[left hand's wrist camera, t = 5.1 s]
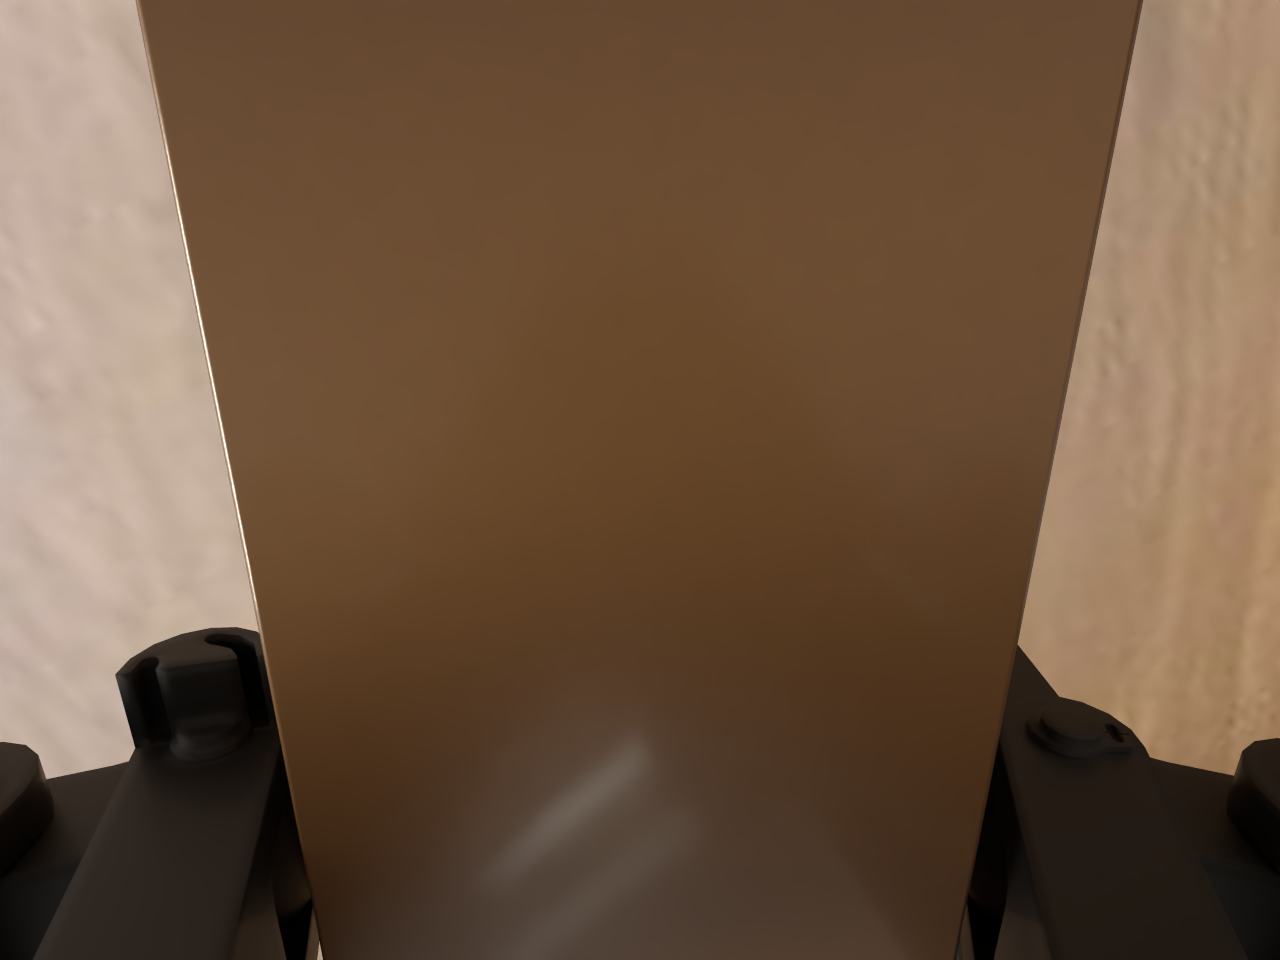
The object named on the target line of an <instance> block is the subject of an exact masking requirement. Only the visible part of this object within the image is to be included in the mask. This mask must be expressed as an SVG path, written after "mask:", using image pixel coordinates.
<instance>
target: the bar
mask: <svg viewBox="0 0 1280 960" xmlns="http://www.w3.org/2000/svg"><path fill="white" fill-rule="evenodd" d="M1142 3H1143V0H136V5H137V10H138V15H139V20H140V25H141V30H142V36H143V41H144V46H145V51H146V56H147V61H148V66H149V71H150V76H151V82H152V87H153V92H154V97H155V102H156V107H157V112H158V117H159V122H160V128H161V133H162V138H163V143H164V148H165V153H166V158H167V163H168V168H169V174H170V179H171V184H172V189H173V194H174V199H175V204H176V209H177V215H178V220H179V225H180V230H181V235H182V240H183V245H184V250H185V255H186V261H187V266H188V271H189V276H190V281H191V286H192V291H193V296H194V301H195V307H196V312H197V317H198V322H199V327H200V332H201V337H202V342H203V347H204V353H205V358H206V363H207V368H208V373H209V378H210V383H211V388H212V394H213V399H214V404H215V409H216V414H217V419H218V424H219V429H220V434H221V440H222V445H223V450H224V455H225V460H226V465H227V470H228V475H229V480H230V486H231V491H232V496H233V501H234V506H235V511H236V516H237V521H238V526H239V532H240V537H241V542H242V547H243V552H244V557H245V562H246V567H247V573H248V578H249V583H250V588H251V593H252V598H253V603H254V608H255V613H256V619H257V624H258V629H259V634H260V639H261V644H262V649H263V654H264V659H265V665H266V670H267V675H268V680H269V685H270V690H271V695H272V700H273V705H274V711H275V716H276V721H277V726H278V731H279V736H280V741H281V746H282V752H283V757H284V762H285V767H286V772H287V777H288V782H289V787H290V792H291V798H292V803H293V808H294V813H295V818H296V823H297V828H298V833H299V838H300V844H301V849H302V854H303V859H304V864H305V869H306V874H307V879H308V884H309V890H310V895H311V900H312V905H313V910H314V915H315V920H316V925H317V931H318V936H319V941H320V946H321V951H322V956H323V960H956V956H957V951H958V946H959V941H960V936H961V931H962V925H963V920H964V915H965V910H966V905H967V900H968V895H969V890H970V885H971V879H972V874H973V869H974V864H975V859H976V854H977V849H978V844H979V838H980V833H981V828H982V823H983V818H984V813H985V808H986V803H987V797H988V792H989V787H990V782H991V777H992V772H993V767H994V762H995V756H996V751H997V746H998V741H999V736H1000V731H1001V726H1002V721H1003V715H1004V710H1005V705H1006V700H1007V695H1008V690H1009V685H1010V680H1011V674H1012V669H1013V664H1014V659H1015V654H1016V649H1017V644H1018V639H1019V633H1020V628H1021V623H1022V618H1023V613H1024V608H1025V603H1026V598H1027V592H1028V587H1029V582H1030V577H1031V572H1032V567H1033V562H1034V557H1035V551H1036V546H1037V541H1038V536H1039V531H1040V526H1041V521H1042V516H1043V510H1044V505H1045V500H1046V495H1047V490H1048V485H1049V480H1050V475H1051V469H1052V464H1053V459H1054V454H1055V449H1056V444H1057V439H1058V434H1059V429H1060V423H1061V418H1062V413H1063V408H1064V403H1065V398H1066V393H1067V388H1068V382H1069V377H1070V372H1071V367H1072V362H1073V357H1074V352H1075V347H1076V341H1077V336H1078V331H1079V326H1080V321H1081V316H1082V311H1083V306H1084V300H1085V295H1086V290H1087V285H1088V280H1089V275H1090V270H1091V265H1092V259H1093V254H1094V249H1095V244H1096V239H1097V234H1098V229H1099V224H1100V218H1101V213H1102V208H1103V203H1104V198H1105V193H1106V188H1107V183H1108V177H1109V172H1110V167H1111V162H1112V157H1113V152H1114V147H1115V142H1116V136H1117V131H1118V126H1119V121H1120V116H1121V111H1122V106H1123V101H1124V95H1125V90H1126V85H1127V80H1128V75H1129V70H1130V65H1131V60H1132V54H1133V49H1134V44H1135V39H1136V34H1137V29H1138V24H1139V19H1140V13H1141V8H1142Z"/></svg>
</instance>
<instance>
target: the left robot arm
mask: <svg viewBox="0 0 1280 960" xmlns="http://www.w3.org/2000/svg"><path fill="white" fill-rule="evenodd" d="M115 676H116V679H117V683H118V686H119V690H120V694H121V697H122V701H123V705H124V708H125V712H126V716H127V719H128V723H129V726H130V730H131V734H132V737H133V741H134V745H135V750H134V752H133V754H132V756H131V758H130V760H129V762H125V763H121V764H117V765H114V766H109V767H104V768H99V769H95V770H90V771H85V772H80V773H75V774H70V775H65V776H61V777H56V778H51V779H46V777H45V774H44V771H43V768H42V765H41V762H40V759H39V756H38V754H36V753H35V752H34V751H33V750H31V749H30V748H29V747H28V746H26V745H21V744H14V743H7V742H0V960H317V956H318V948H319V936H318V931H317V925H316V920H315V915H314V910H313V905H312V900H311V895H310V890H309V884H308V879H307V874H306V869H305V864H304V859H303V854H302V849H301V844H300V838H299V833H298V828H297V823H296V818H295V813H294V808H293V803H292V798H291V792H290V787H289V782H288V777H287V772H286V767H285V762H284V757H283V752H282V746H281V741H280V736H279V731H278V726H277V721H276V716H275V711H274V705H273V700H272V695H271V690H270V685H269V680H268V675H267V670H266V665H265V659H264V654H263V649H262V644H261V639H260V634H259V633H258V632H256V631H251V630H247V629H242V628H238V627H230V628H209V629H204V630H199V631H194V632H189V633H184V634H181V635H178V636H175V637H173V638H170V639H167V640H165V641H162V642H159V643H157V644H154V645H152V646H151V647H149V648H147V649H146V650H144V651H142V652H141V653H139V654H137V655H136V656H134V657H132V658H131V659H130V660H129V661H128V662H127V663H126V664H125V665H124V666H123V667H122V668H121V669H120V670H119V671H118V672H117V673H116V674H115ZM956 960H1280V738H1275V739H1268V740H1260V741H1254V742H1253V743H1252V744H1251V745H1249V746H1248V747H1247V748H1246V749H1244V750H1243V751H1242V754H1241V757H1240V760H1239V763H1238V766H1237V769H1236V772H1235V775H1234V776H1233V775H1228V774H1223V773H1218V772H1213V771H1208V770H1203V769H1198V768H1193V767H1189V766H1184V765H1179V764H1174V763H1169V762H1165V761H1161V760H1157V759H1154V758H1150V757H1149V755H1148V753H1147V751H1146V749H1145V747H1144V745H1143V744H1142V743H1141V742H1140V740H1139V739H1138V738H1137V737H1136V735H1135V734H1134V733H1133V731H1132V730H1131V729H1129V728H1128V727H1127V726H1125V725H1124V724H1122V723H1121V722H1120V721H1118V720H1117V719H1115V718H1114V717H1112V716H1111V715H1110V714H1108V713H1106V712H1103V711H1101V710H1099V709H1096V708H1094V707H1092V706H1090V705H1087V704H1085V703H1083V702H1079V701H1075V700H1071V699H1066V698H1062V697H1059V696H1058V695H1057V693H1056V692H1055V691H1054V690H1053V688H1052V687H1051V686H1050V685H1049V683H1048V682H1047V681H1046V680H1045V678H1044V677H1043V676H1042V675H1041V673H1040V672H1039V671H1038V670H1037V668H1036V667H1035V666H1034V665H1033V663H1032V662H1031V661H1030V660H1029V658H1028V657H1027V656H1026V655H1025V653H1024V652H1023V651H1022V650H1021V648H1020V647H1019V646H1018V645H1017V649H1016V654H1015V659H1014V664H1013V669H1012V674H1011V680H1010V685H1009V690H1008V695H1007V700H1006V705H1005V710H1004V715H1003V721H1002V726H1001V731H1000V736H999V741H998V746H997V751H996V756H995V762H994V767H993V772H992V777H991V782H990V787H989V792H988V797H987V803H986V808H985V813H984V818H983V823H982V828H981V833H980V838H979V844H978V849H977V854H976V859H975V864H974V869H973V874H972V879H971V885H970V890H969V895H968V900H967V905H966V910H965V915H964V920H963V925H962V931H961V936H960V941H959V946H958V951H957V956H956Z"/></svg>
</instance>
